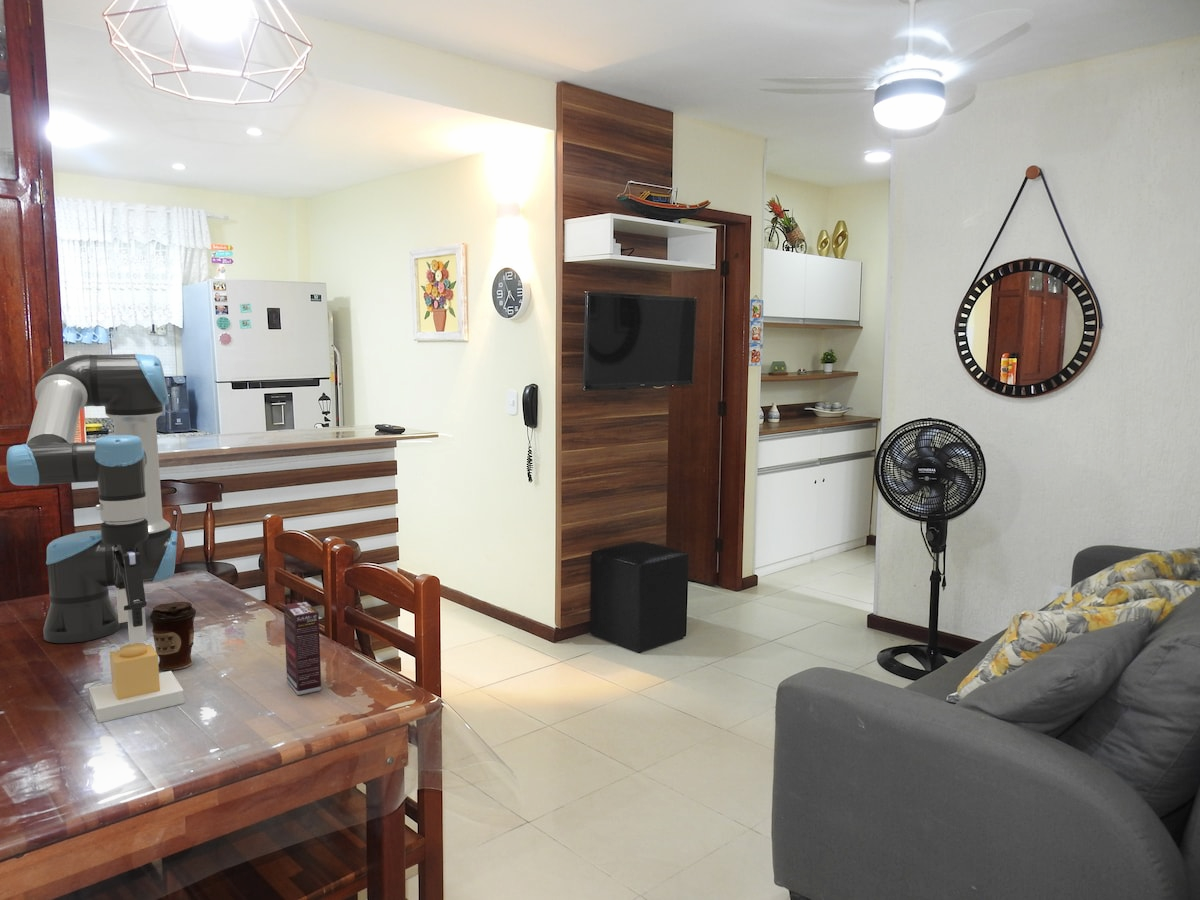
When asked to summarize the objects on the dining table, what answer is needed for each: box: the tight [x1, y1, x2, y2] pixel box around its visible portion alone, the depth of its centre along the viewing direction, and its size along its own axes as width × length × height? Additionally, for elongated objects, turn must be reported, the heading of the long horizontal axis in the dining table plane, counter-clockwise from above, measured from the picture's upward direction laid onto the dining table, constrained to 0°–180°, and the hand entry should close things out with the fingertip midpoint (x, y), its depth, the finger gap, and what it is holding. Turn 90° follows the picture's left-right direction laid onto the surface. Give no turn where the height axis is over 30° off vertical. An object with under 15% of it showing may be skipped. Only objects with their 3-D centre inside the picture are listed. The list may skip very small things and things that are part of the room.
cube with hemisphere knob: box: [109, 642, 160, 700], centre depth 157 cm, size 7×7×8 cm
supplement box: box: [283, 601, 322, 696], centre depth 164 cm, size 9×5×16 cm, turn 34°
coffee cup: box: [149, 601, 197, 671], centre depth 175 cm, size 9×8×13 cm
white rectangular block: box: [88, 670, 185, 724], centre depth 157 cm, size 12×14×8 cm
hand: (132, 631), depth 156 cm, fingers open, 13 cm apart
